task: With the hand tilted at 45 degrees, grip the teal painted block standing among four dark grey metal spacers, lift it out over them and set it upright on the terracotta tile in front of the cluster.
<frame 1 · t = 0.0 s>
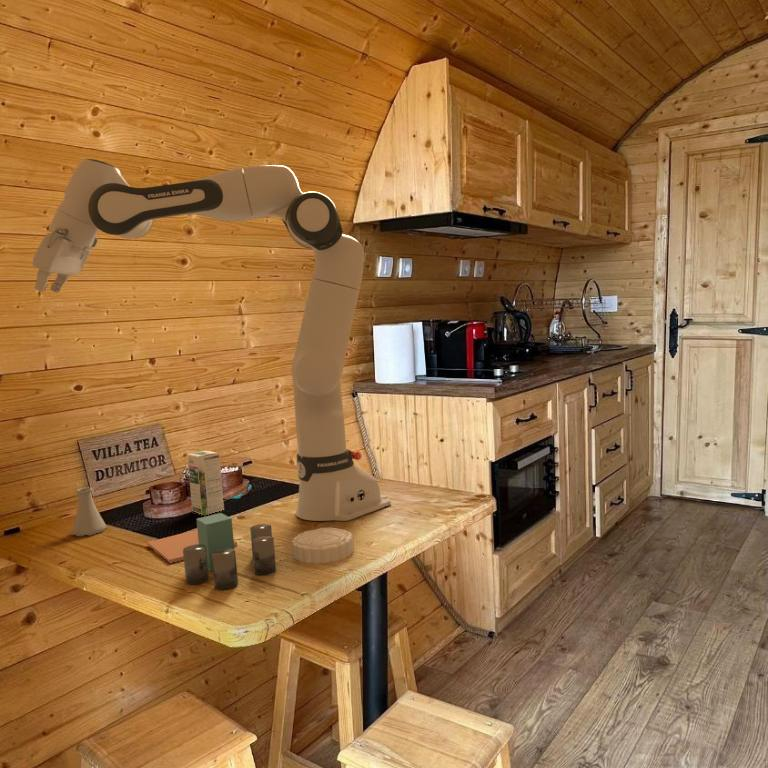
hand: (46, 291, 150), 54 cm above the table, tool tilted 30°, fingers open, 8 cm apart
sponge: (237, 495, 184), on the table
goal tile: (191, 545, 145), on the table
flask: (89, 532, 159), on the table
syrup box: (208, 512, 169), on the table
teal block: (218, 564, 134), on the table
mooncake: (323, 554, 137), on the table
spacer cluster: (238, 572, 129), on the table
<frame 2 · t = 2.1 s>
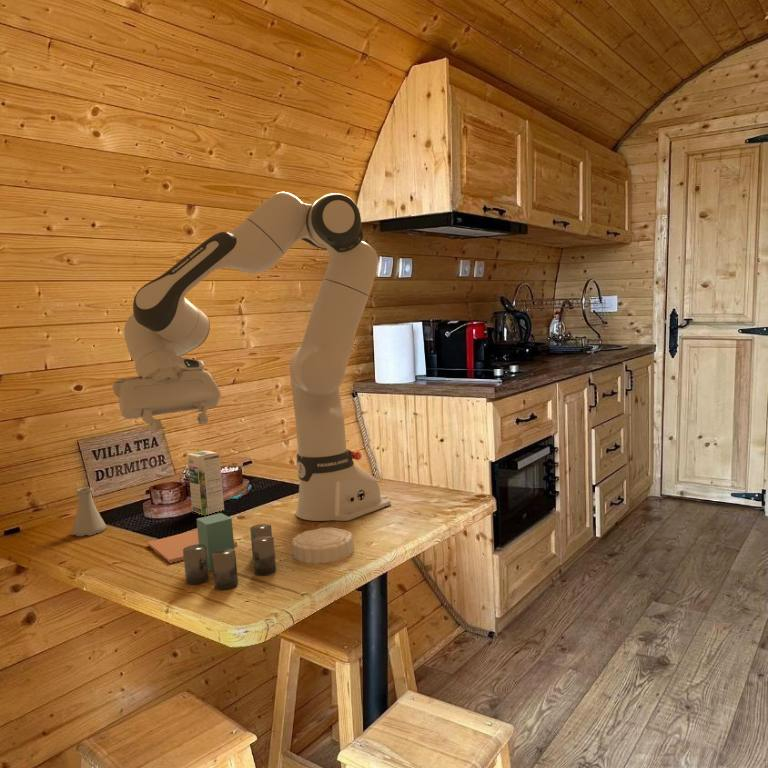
hand: (181, 426, 141), 25 cm above the table, tool tilted 45°, fingers open, 8 cm apart
nothing on the table moved.
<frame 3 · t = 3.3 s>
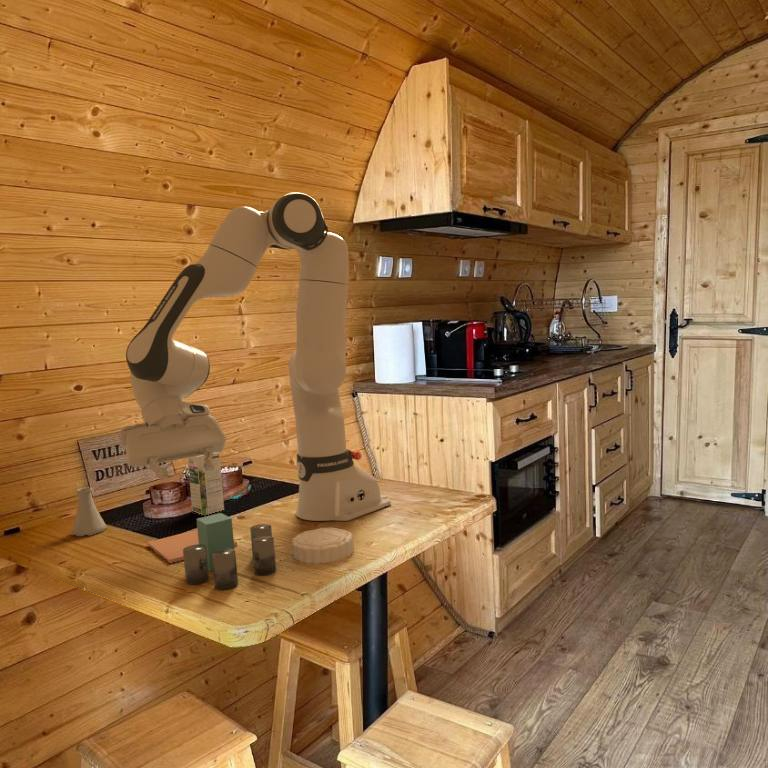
hand: (187, 473, 142), 16 cm above the table, tool tilted 45°, fingers open, 8 cm apart
nothing on the table moved.
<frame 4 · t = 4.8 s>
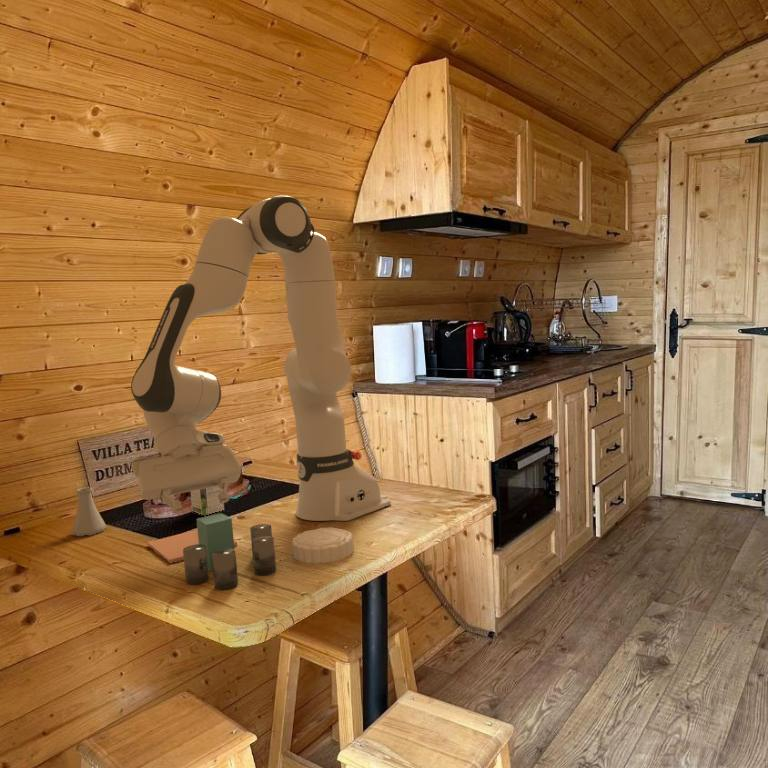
hand: (202, 506, 137), 10 cm above the table, tool tilted 45°, fingers open, 8 cm apart
nothing on the table moved.
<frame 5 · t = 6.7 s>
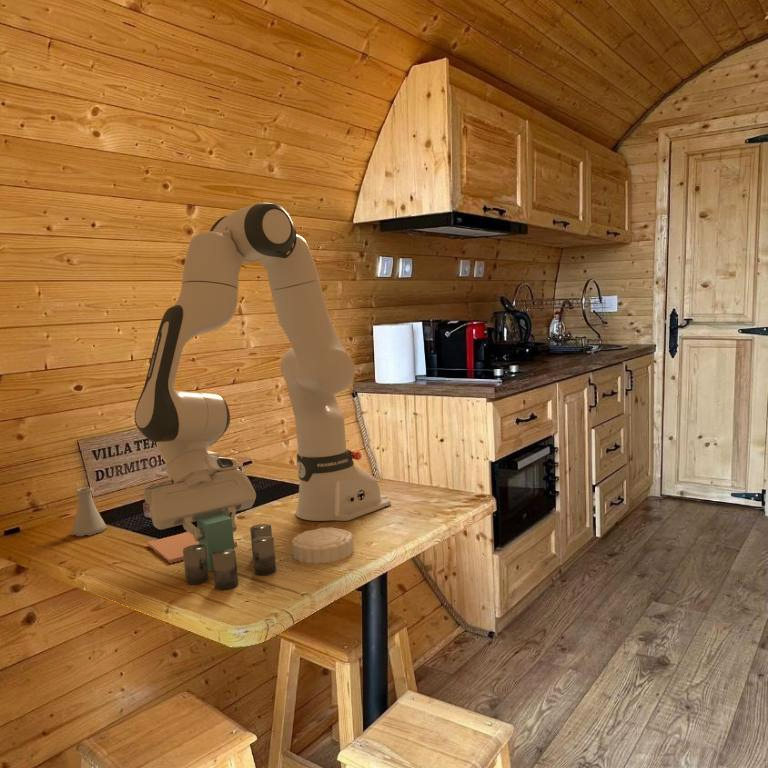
hand: (216, 535, 133), 6 cm above the table, tool tilted 45°, fingers closed on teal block, 5 cm apart
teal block: (218, 564, 134), on the table, touching gripper
everything else where it was.
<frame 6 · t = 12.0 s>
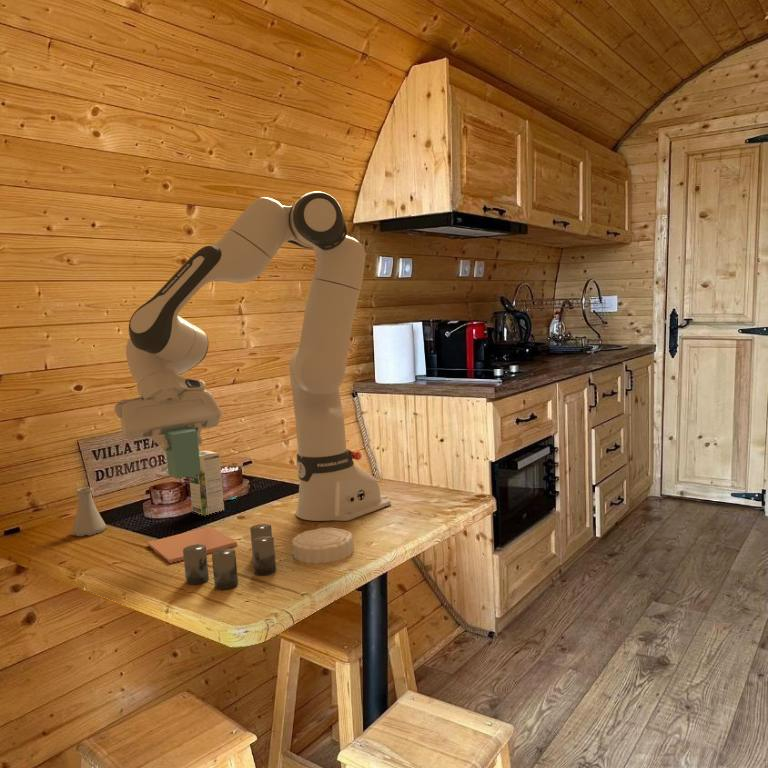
hand: (183, 446, 142), 21 cm above the table, tool tilted 45°, fingers closed on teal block, 5 cm apart
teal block: (184, 474, 144), point 15 cm above the table, touching gripper
everything else where it was.
when the fingers open (8 cm above the table, at t = 14.8 s): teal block drops 1 cm, resting on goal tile.
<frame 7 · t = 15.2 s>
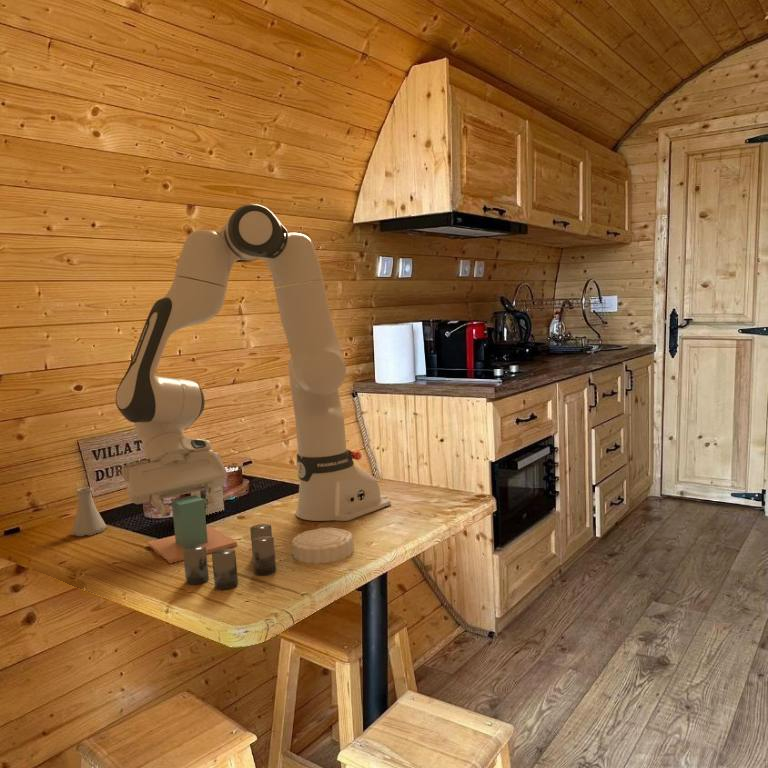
hand: (189, 509, 144), 8 cm above the table, tool tilted 45°, fingers open, 8 cm apart
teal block: (191, 542, 145), point 1 cm above the table, touching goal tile
everything else where it was.
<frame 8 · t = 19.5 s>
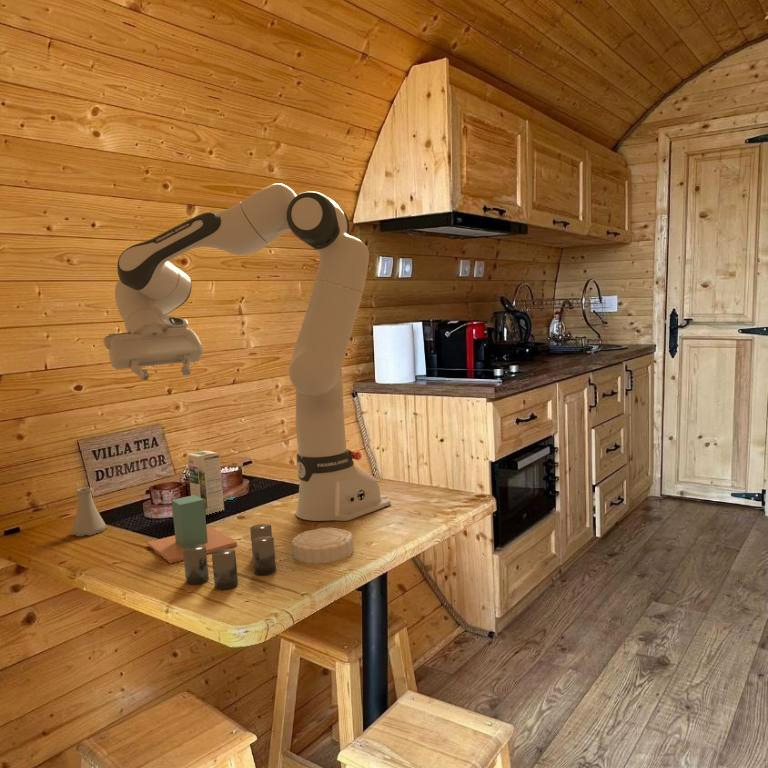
hand: (166, 375, 155), 34 cm above the table, tool tilted 45°, fingers open, 8 cm apart
at the end: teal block inside the target area on the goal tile (0.0 cm from its centre), point 0.8 cm above the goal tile's base; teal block tilted 0°; the gripper is holding nothing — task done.
